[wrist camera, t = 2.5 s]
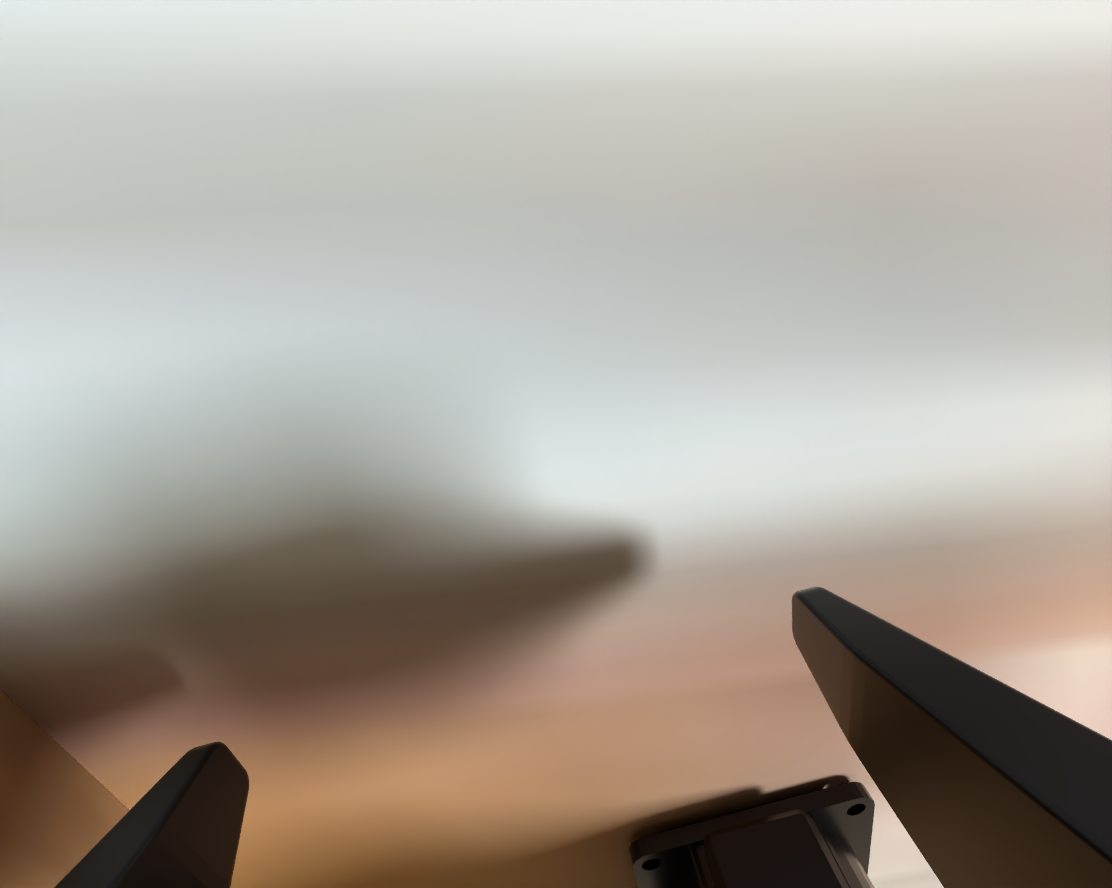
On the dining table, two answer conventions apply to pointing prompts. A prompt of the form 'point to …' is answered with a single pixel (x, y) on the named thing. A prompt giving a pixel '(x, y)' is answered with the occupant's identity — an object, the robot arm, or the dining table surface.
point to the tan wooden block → (45, 805)
